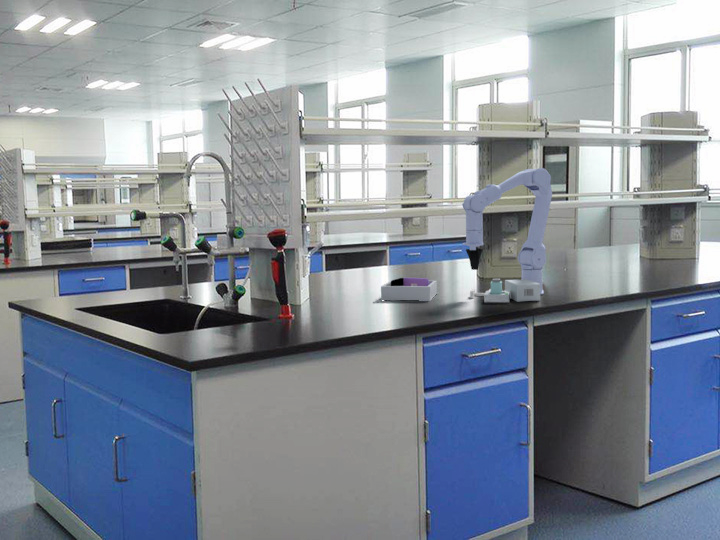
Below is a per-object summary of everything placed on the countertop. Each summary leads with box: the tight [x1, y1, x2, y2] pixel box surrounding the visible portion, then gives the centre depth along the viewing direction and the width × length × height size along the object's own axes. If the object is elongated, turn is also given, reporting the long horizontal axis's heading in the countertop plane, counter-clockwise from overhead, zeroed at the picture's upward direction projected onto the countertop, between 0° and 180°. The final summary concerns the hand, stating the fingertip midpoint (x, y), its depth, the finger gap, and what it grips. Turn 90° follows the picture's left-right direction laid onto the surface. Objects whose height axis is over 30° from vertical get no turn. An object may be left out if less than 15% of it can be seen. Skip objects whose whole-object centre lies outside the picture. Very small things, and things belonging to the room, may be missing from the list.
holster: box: [469, 288, 491, 299], centre depth 265 cm, size 6×7×2 cm
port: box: [483, 290, 511, 304], centre depth 255 cm, size 10×8×3 cm
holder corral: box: [380, 280, 438, 302], centre depth 269 cm, size 17×17×5 cm
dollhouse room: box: [390, 277, 430, 286], centre depth 268 cm, size 12×12×7 cm
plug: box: [490, 278, 503, 294], centre depth 255 cm, size 4×4×7 cm
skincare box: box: [504, 278, 541, 303], centre depth 259 cm, size 8×6×15 cm
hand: (474, 269), depth 263 cm, fingers closed
